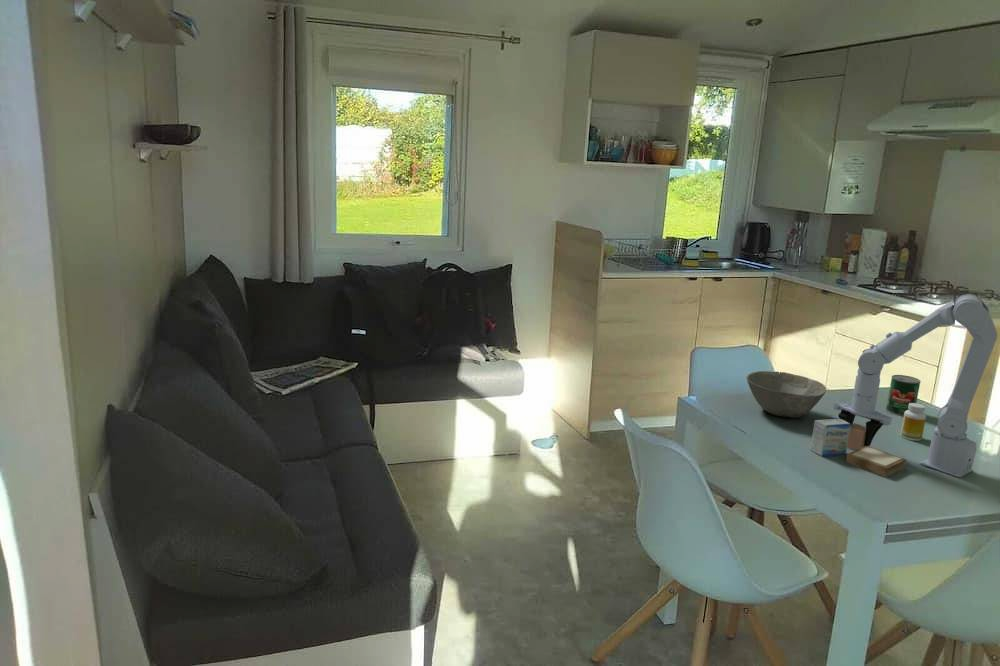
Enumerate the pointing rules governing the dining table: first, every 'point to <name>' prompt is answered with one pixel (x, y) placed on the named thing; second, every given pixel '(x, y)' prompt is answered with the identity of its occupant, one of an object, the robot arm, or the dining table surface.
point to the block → (856, 436)
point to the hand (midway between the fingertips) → (856, 441)
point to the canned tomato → (902, 393)
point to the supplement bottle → (913, 422)
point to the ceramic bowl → (785, 392)
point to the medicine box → (830, 437)
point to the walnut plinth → (876, 461)
